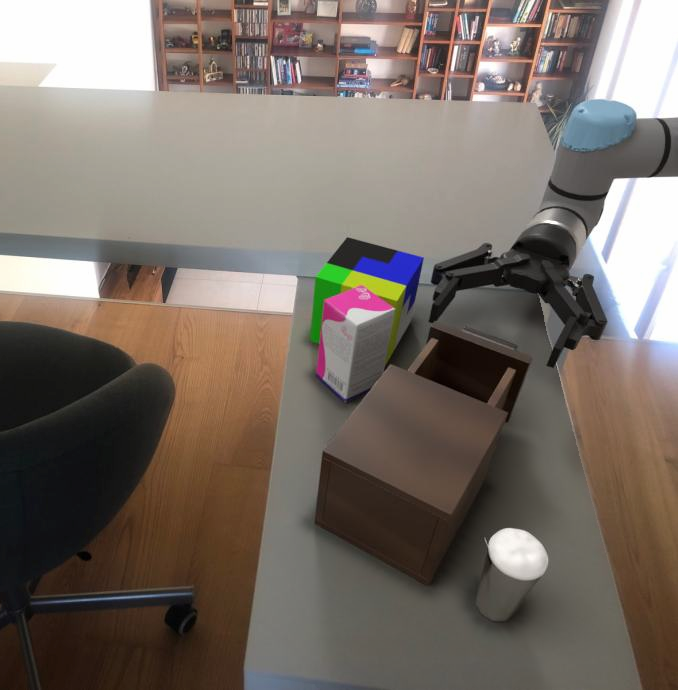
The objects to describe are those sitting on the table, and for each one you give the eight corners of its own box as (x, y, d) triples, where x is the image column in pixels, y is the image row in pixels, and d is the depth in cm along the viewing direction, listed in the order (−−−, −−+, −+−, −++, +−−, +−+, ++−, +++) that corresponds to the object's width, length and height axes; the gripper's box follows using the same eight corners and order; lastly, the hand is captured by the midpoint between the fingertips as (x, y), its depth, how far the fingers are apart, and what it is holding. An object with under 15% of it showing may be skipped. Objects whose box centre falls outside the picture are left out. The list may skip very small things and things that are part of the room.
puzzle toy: (410, 321, 91) (423, 257, 85) (385, 366, 85) (396, 301, 78) (339, 299, 95) (347, 237, 89) (310, 341, 89) (315, 276, 82)
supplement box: (383, 384, 82) (397, 308, 75) (344, 404, 80) (355, 327, 73) (351, 357, 86) (362, 282, 79) (313, 375, 84) (321, 299, 76)
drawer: (436, 357, 84) (451, 298, 79) (524, 391, 80) (546, 332, 74) (372, 446, 74) (384, 386, 68) (469, 492, 69) (490, 432, 63)
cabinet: (376, 436, 76) (390, 363, 69) (481, 485, 71) (508, 412, 64) (313, 523, 68) (322, 450, 61) (427, 586, 62) (451, 515, 55)
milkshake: (452, 580, 63) (477, 514, 56) (512, 581, 63) (544, 515, 56) (464, 628, 59) (492, 564, 53) (528, 630, 59) (563, 565, 53)
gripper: (639, 304, 87) (597, 403, 75) (449, 244, 99) (384, 321, 86) (662, 254, 83) (622, 351, 70) (460, 197, 94) (393, 271, 81)
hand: (490, 335), depth 78 cm, fingers open, 13 cm apart
